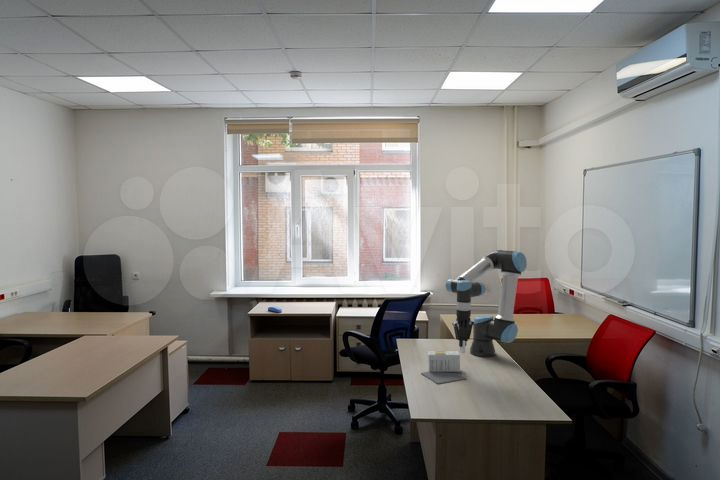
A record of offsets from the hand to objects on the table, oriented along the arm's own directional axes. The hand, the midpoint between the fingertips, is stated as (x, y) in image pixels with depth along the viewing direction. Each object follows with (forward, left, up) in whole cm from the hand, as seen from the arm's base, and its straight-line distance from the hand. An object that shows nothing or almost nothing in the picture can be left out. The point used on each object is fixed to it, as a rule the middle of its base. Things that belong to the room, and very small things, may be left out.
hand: (462, 352), depth 254 cm
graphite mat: (+12, 0, -12) cm, 17 cm away
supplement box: (-1, -3, -6) cm, 7 cm away
